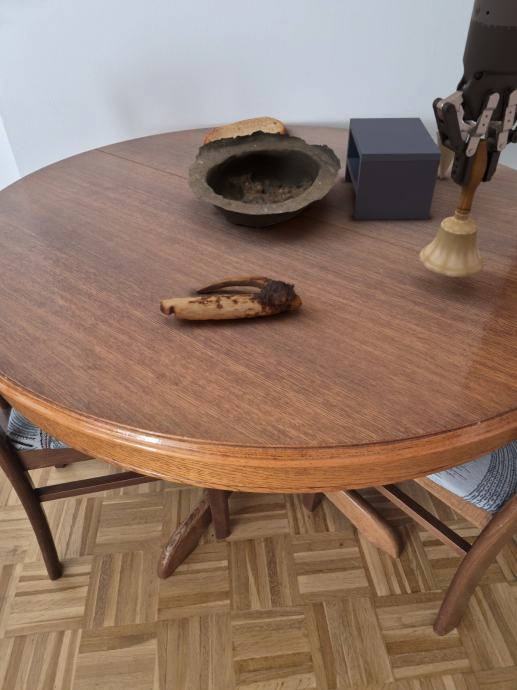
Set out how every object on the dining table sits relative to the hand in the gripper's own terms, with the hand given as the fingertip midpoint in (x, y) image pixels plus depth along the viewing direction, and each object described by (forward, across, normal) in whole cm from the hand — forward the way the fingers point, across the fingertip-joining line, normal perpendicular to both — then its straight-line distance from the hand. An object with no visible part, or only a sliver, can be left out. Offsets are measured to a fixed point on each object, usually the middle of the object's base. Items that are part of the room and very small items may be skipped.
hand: (471, 180), depth 65 cm
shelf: (+15, +5, +27) cm, 31 cm away
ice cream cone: (+15, +19, +30) cm, 39 cm away
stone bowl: (+15, -16, +30) cm, 37 cm away
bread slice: (+15, -9, +61) cm, 63 cm away
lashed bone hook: (+15, -29, +5) cm, 33 cm away
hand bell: (+11, 0, 0) cm, 11 cm away
